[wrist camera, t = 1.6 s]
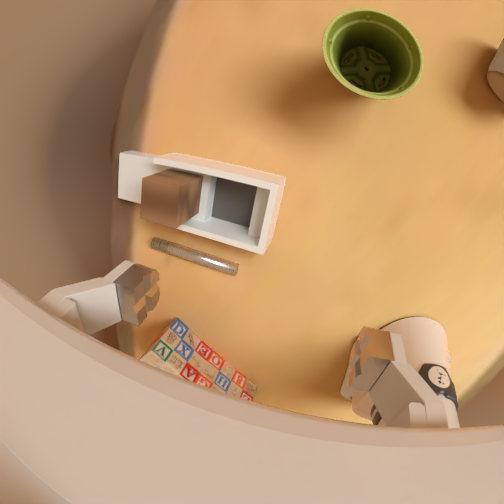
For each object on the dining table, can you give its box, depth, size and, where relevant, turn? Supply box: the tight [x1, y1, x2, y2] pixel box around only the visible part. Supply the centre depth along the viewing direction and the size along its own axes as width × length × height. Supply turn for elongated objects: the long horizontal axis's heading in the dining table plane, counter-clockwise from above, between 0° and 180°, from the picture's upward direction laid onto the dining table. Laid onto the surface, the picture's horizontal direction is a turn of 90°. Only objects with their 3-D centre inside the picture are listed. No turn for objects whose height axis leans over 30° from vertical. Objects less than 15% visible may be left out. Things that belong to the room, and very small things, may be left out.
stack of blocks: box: [139, 318, 257, 401], centre depth 47 cm, size 21×6×12 cm, turn 47°
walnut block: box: [141, 169, 203, 229], centre depth 33 cm, size 5×5×6 cm
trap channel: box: [118, 151, 287, 255], centre depth 36 cm, size 9×24×5 cm, turn 79°
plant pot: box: [322, 8, 424, 100], centre depth 22 cm, size 9×9×9 cm
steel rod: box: [151, 237, 239, 276], centre depth 42 cm, size 14×2×2 cm
